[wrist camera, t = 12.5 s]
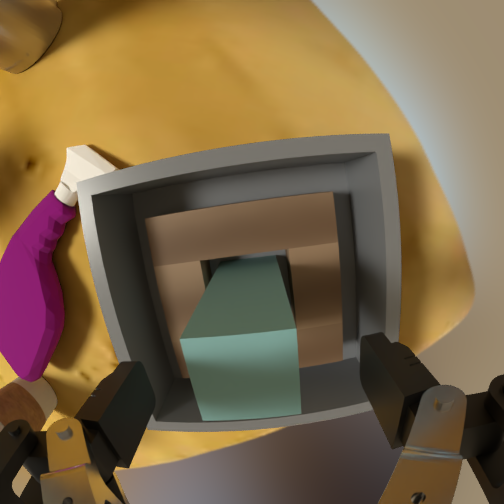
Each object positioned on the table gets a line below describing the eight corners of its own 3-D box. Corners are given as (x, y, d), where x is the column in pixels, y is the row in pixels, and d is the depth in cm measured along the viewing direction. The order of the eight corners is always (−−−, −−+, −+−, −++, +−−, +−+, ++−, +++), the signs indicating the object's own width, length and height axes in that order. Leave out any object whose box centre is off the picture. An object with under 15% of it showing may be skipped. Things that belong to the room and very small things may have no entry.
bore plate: (159, 215, 21) (144, 218, 18) (322, 191, 20) (332, 191, 17) (190, 358, 23) (182, 378, 20) (333, 341, 22) (342, 360, 20)
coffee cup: (24, 397, 27) (-31, 456, 12) (13, 351, 25) (-59, 409, 11) (69, 423, 27) (18, 497, 12) (61, 378, 25) (-10, 457, 11)
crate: (124, 184, 21) (76, 182, 14) (351, 150, 20) (389, 133, 14) (169, 380, 25) (148, 429, 18) (362, 358, 24) (390, 405, 17)
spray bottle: (-3, 318, 24) (77, 133, 22) (47, 385, 23) (149, 190, 21) (-20, 322, 21) (58, 123, 19) (30, 394, 20) (131, 183, 18)
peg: (220, 261, 21) (179, 338, 10) (275, 255, 21) (296, 328, 9) (228, 311, 22) (203, 420, 10) (280, 306, 22) (301, 413, 10)
